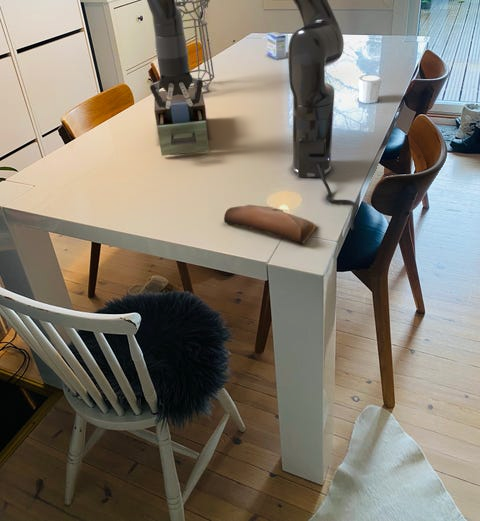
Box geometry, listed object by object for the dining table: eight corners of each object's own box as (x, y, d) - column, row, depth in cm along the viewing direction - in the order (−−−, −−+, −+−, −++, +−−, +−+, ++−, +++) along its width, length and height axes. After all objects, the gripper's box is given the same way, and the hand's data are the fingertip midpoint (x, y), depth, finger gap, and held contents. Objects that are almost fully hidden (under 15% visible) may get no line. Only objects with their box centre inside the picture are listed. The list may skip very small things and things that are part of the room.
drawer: (210, 157, 131) (207, 128, 126) (161, 162, 130) (157, 133, 125) (204, 129, 146) (202, 102, 141) (161, 134, 145) (157, 107, 141)
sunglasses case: (318, 223, 104) (312, 207, 98) (306, 252, 102) (299, 238, 96) (243, 204, 112) (233, 188, 106) (230, 232, 110) (220, 217, 104)
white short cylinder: (354, 102, 159) (356, 80, 155) (360, 95, 164) (362, 73, 160) (376, 105, 156) (378, 82, 152) (381, 97, 161) (384, 75, 157)
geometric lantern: (179, 101, 170) (164, -16, 149) (167, 88, 181) (151, -22, 160) (223, 92, 174) (214, -23, 153) (208, 80, 186) (197, -28, 165)
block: (190, 123, 133) (187, 107, 130) (173, 125, 133) (170, 109, 130) (189, 117, 136) (187, 101, 134) (172, 119, 136) (170, 103, 133)
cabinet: (208, 139, 143) (205, 105, 137) (159, 144, 142) (154, 110, 136) (204, 118, 156) (201, 87, 150) (159, 123, 155) (154, 91, 149)
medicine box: (267, 55, 208) (266, 33, 203) (276, 53, 209) (276, 31, 204) (276, 59, 202) (275, 36, 197) (286, 57, 203) (285, 35, 198)
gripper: (142, 60, 120) (154, 128, 131) (202, 54, 121) (209, 122, 132) (143, 52, 126) (154, 118, 137) (199, 46, 127) (206, 112, 138)
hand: (181, 119), depth 134 cm, fingers closed on block, 4 cm apart
